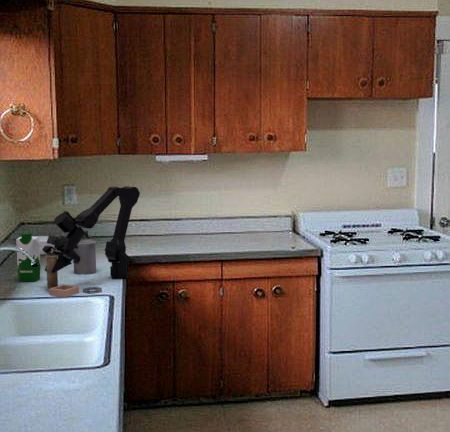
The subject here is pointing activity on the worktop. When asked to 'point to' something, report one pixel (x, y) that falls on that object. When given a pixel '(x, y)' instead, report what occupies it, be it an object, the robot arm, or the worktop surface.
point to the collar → (64, 290)
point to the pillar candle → (86, 257)
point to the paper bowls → (43, 244)
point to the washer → (97, 289)
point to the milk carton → (23, 262)
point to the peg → (51, 277)
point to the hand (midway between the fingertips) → (48, 271)
